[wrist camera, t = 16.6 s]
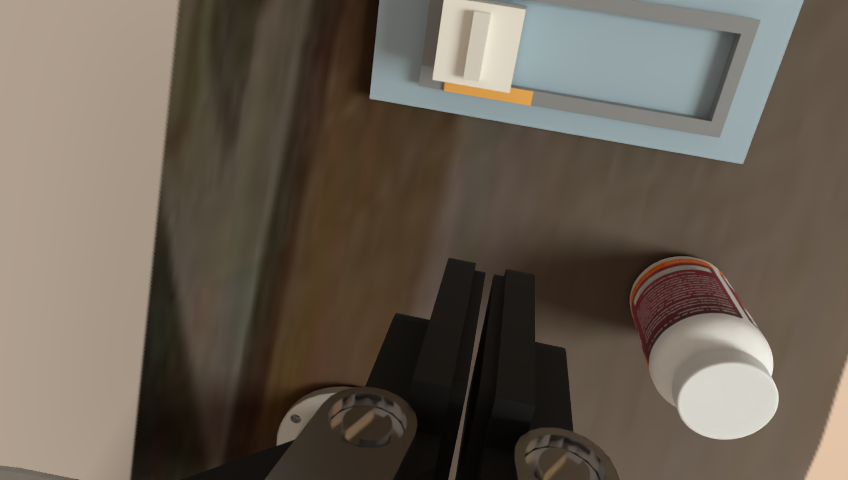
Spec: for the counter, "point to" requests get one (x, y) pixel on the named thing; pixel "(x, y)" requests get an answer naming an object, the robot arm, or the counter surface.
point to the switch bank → (608, 69)
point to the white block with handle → (478, 43)
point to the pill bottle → (703, 348)
